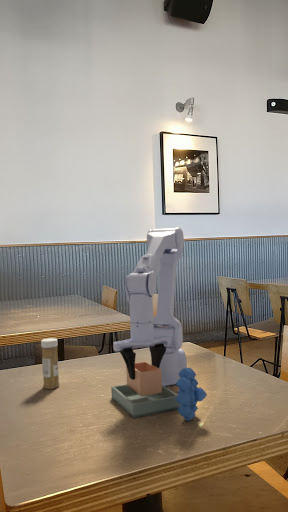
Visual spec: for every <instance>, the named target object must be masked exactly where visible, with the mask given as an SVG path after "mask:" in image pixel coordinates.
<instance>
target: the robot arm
mask: <svg viewBox="0 0 288 512" xmlns="http://www.w3.org/2000/svg"><path fill="white" fill-rule="evenodd" d="M146 245H147V247H148V248H147V251H146V253H145V254H143V255H142V256H141V257H139V260H138V263H137V264H136V266H135V268H134V271H133V272H130V273H129V274H128V275H126V277H125V281H124V282H125V283H124V290H125V294H126V300H127V303H128V304H129V322H130V323H129V325H130V327H129V328H130V330H129V331H130V338H127V339H124V340H119V341H113V343H112V344H113V345H112V348H113V350H114V351H115V352H119V353H120V355H121V357H122V359H123V361H124V363H125V365H126V366H127V369H128V373H129V378H131V379H132V380H134V379H135V363H136V356H137V352H135V351H134V350H133V349H140V348H147V349H149V352H150V359H151V360H150V361H151V364H152V365H154V366H155V367H157V368H159V369H161V379H162V385H163V386H165V387H167V386H168V387H169V386H172V385H176V383H177V381H178V380H179V379H180V376H179V375H178V374H179V372H180V371H181V370H182V369H183V368H188V360H187V355H186V353H185V351H184V349H182V347H183V341H184V335H183V325H182V323H181V322H180V320H178V318H176V317H175V316H174V310H175V309H174V308H175V307H174V306H175V292H176V277H177V276H176V275H177V266H178V261H179V260H181V259H183V254H184V246H185V237H184V231H183V229H181V227H171V228H167V227H166V228H150V229H148V231H147V235H146ZM158 273H159V279H158V289H157V288H156V287H157V276H158ZM156 289H157V292H158V293H157V302H156V315H154V304H153V302H154V301H153V300H154V299H153V296H154V295H155V293H156Z"/></svg>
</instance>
